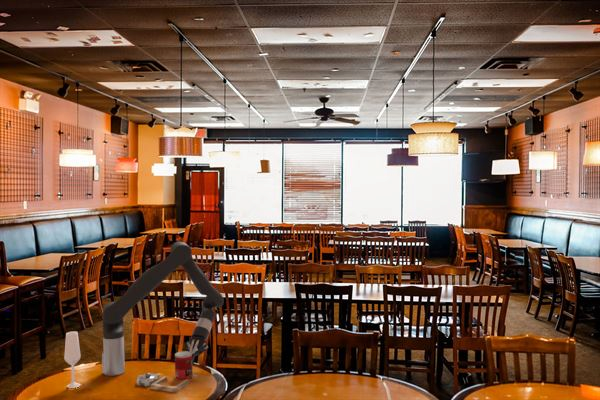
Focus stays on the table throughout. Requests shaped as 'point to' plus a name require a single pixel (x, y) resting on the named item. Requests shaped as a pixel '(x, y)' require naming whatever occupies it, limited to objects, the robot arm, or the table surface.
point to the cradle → (158, 386)
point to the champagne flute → (72, 354)
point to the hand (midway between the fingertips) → (189, 362)
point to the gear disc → (147, 379)
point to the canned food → (183, 365)
